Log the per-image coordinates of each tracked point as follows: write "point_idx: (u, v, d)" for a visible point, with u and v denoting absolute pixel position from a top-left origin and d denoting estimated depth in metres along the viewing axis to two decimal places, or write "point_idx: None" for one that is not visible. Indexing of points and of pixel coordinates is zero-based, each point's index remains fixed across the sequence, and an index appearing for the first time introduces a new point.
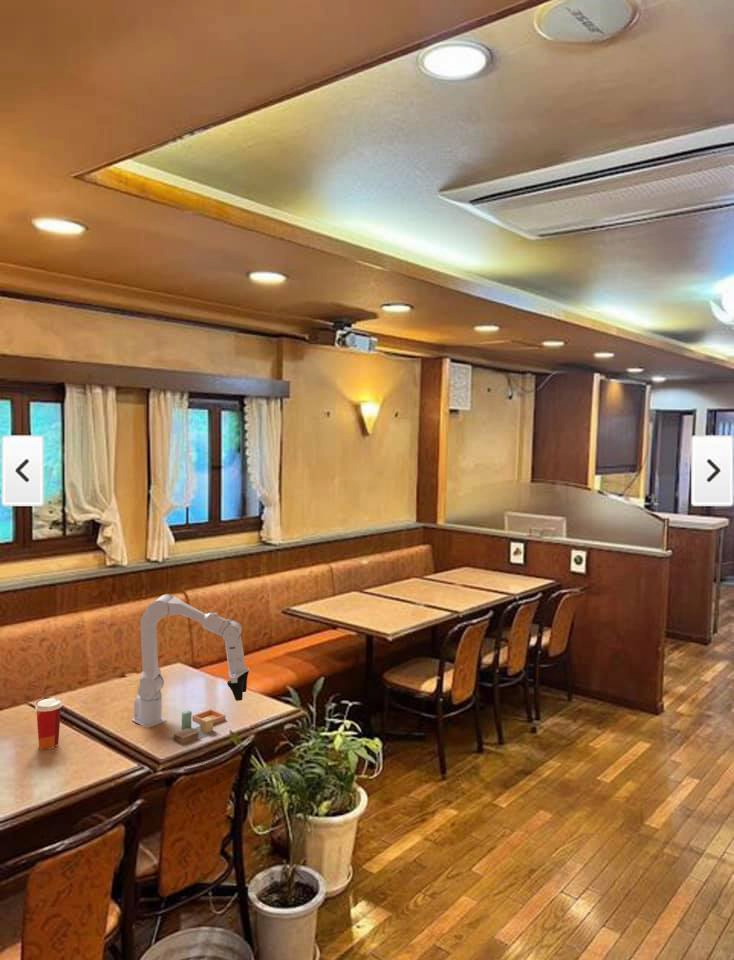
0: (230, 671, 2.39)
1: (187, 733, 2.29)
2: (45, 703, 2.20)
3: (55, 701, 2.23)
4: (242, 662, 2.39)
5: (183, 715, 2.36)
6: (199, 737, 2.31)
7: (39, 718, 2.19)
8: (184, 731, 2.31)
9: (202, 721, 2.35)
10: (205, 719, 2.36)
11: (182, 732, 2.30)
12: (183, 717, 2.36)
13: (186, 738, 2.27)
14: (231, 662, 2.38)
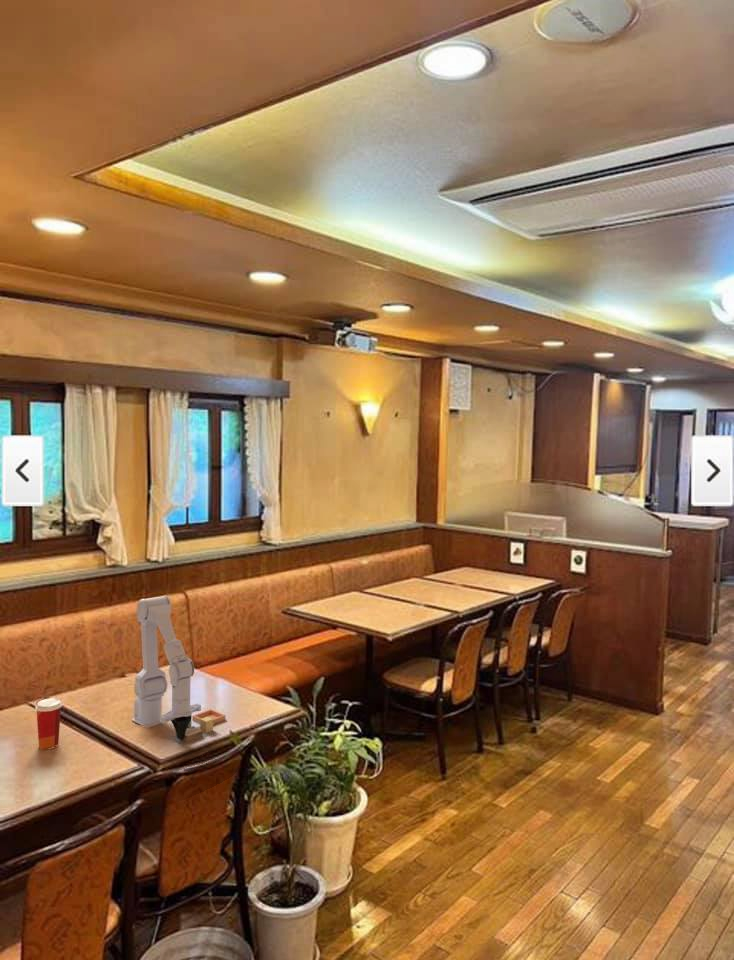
0: (172, 709, 2.27)
1: (191, 731, 2.31)
2: (45, 703, 2.20)
3: (55, 701, 2.23)
4: (181, 705, 2.24)
5: None
6: None
7: (39, 718, 2.19)
8: (188, 729, 2.32)
9: (202, 721, 2.35)
10: (205, 719, 2.36)
11: (187, 730, 2.31)
12: None
13: (191, 736, 2.28)
14: (172, 701, 2.26)
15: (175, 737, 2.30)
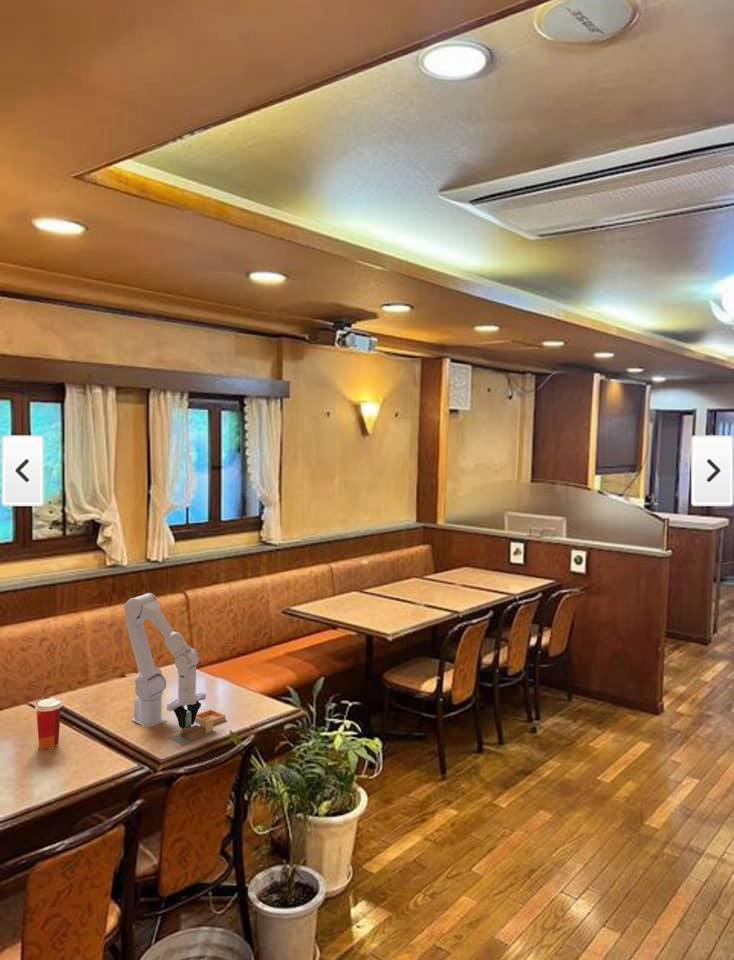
0: (178, 697, 2.36)
1: (195, 730, 2.32)
2: (45, 703, 2.20)
3: (55, 701, 2.23)
4: (187, 693, 2.34)
5: None
6: None
7: (39, 718, 2.19)
8: (191, 728, 2.33)
9: (202, 721, 2.35)
10: (205, 719, 2.36)
11: (190, 729, 2.32)
12: None
13: (194, 735, 2.29)
14: (178, 689, 2.35)
15: (175, 737, 2.30)
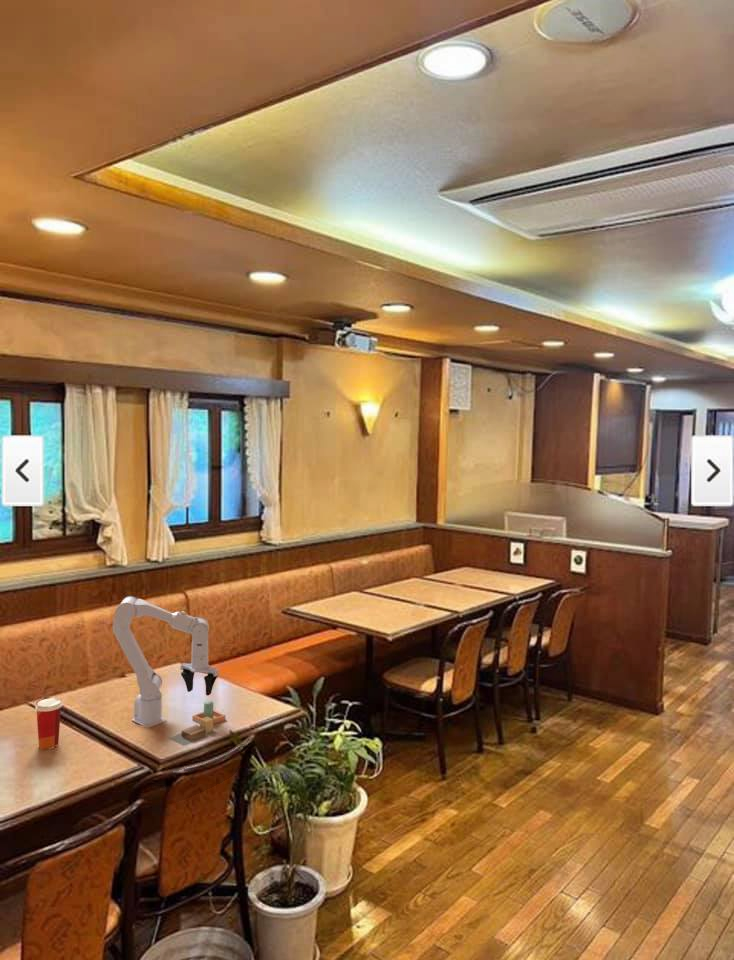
0: None
1: (195, 730, 2.32)
2: (45, 703, 2.20)
3: (55, 701, 2.23)
4: (192, 660, 2.42)
5: None
6: None
7: (39, 718, 2.19)
8: (191, 728, 2.33)
9: (202, 721, 2.35)
10: (205, 719, 2.36)
11: (190, 729, 2.32)
12: None
13: (194, 735, 2.29)
14: None
15: (175, 737, 2.30)
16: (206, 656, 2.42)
